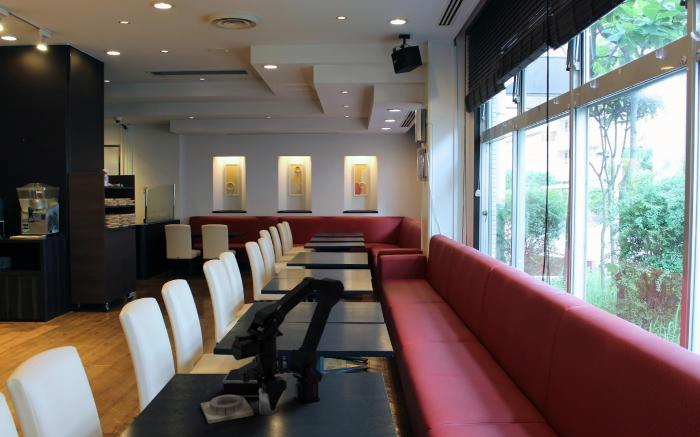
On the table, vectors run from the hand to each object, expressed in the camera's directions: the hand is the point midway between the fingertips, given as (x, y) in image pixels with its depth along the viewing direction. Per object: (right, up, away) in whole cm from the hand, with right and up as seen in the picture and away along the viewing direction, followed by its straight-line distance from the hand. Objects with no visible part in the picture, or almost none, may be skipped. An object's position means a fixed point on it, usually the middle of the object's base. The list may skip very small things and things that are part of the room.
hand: (268, 404), depth 159 cm
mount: (-13, -2, +1) cm, 13 cm away
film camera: (-9, -2, +19) cm, 21 cm away
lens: (0, -2, 0) cm, 2 cm away
